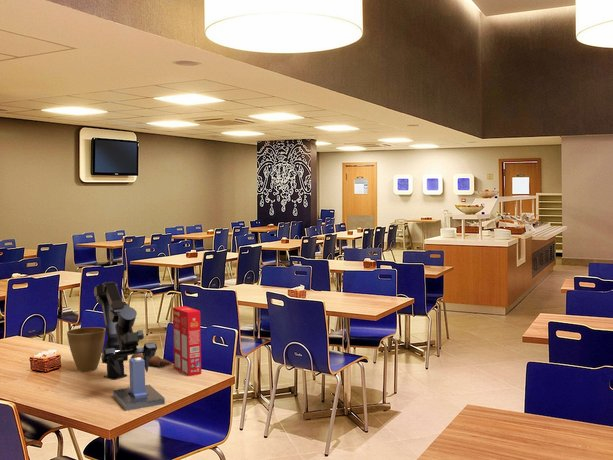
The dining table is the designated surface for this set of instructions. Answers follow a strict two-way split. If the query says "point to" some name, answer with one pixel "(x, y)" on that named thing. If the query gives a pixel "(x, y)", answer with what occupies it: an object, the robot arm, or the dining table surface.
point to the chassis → (132, 403)
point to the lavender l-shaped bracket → (137, 378)
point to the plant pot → (86, 346)
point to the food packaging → (187, 340)
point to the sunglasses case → (154, 360)
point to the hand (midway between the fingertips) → (134, 373)
